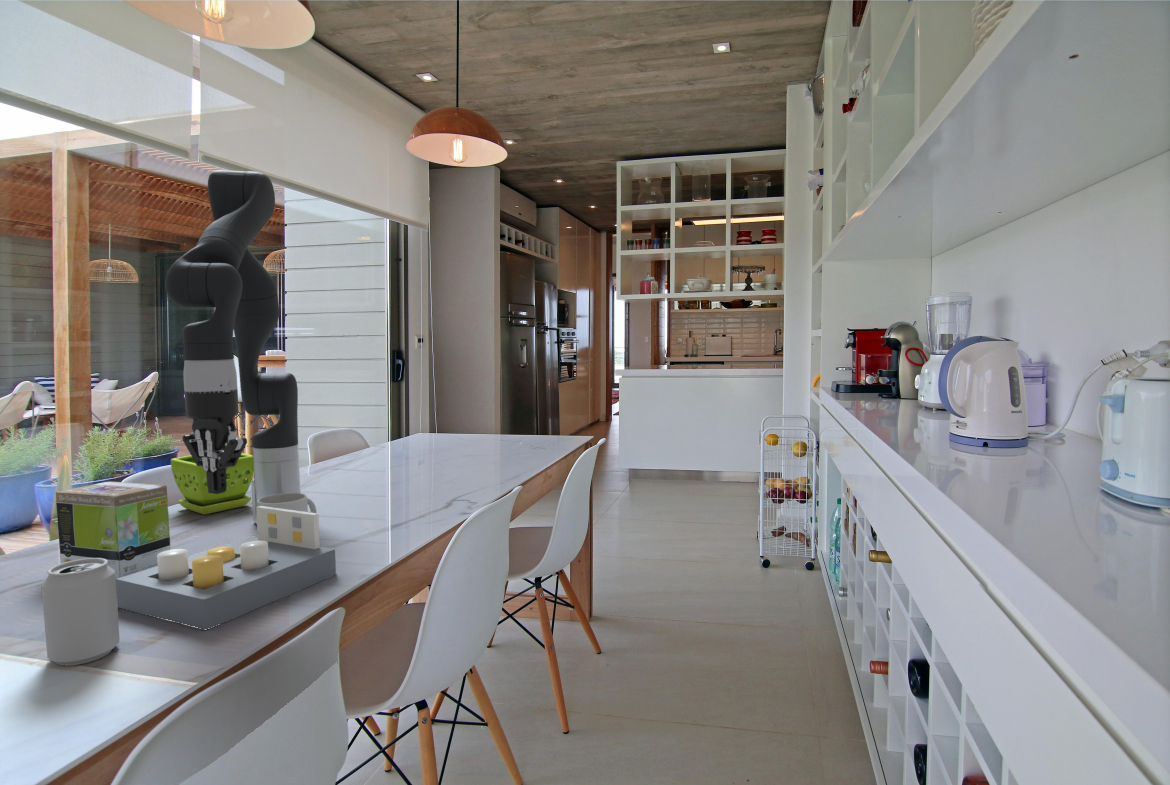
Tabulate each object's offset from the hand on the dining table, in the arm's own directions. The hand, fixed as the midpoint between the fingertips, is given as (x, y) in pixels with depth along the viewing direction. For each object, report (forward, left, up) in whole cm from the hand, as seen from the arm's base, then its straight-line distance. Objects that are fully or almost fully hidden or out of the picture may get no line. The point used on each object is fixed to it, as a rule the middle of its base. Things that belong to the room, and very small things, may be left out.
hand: (217, 492), depth 109 cm
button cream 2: (+8, 0, -13) cm, 15 cm away
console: (+4, -1, -16) cm, 16 cm away
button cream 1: (0, -8, -13) cm, 15 cm away
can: (+6, -24, -16) cm, 29 cm away
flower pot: (-48, +34, -16) cm, 61 cm away
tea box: (-25, -2, -16) cm, 30 cm away
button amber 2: (+8, -8, -13) cm, 17 cm away
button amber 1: (0, 0, -15) cm, 15 cm away
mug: (-6, +19, -16) cm, 25 cm away
